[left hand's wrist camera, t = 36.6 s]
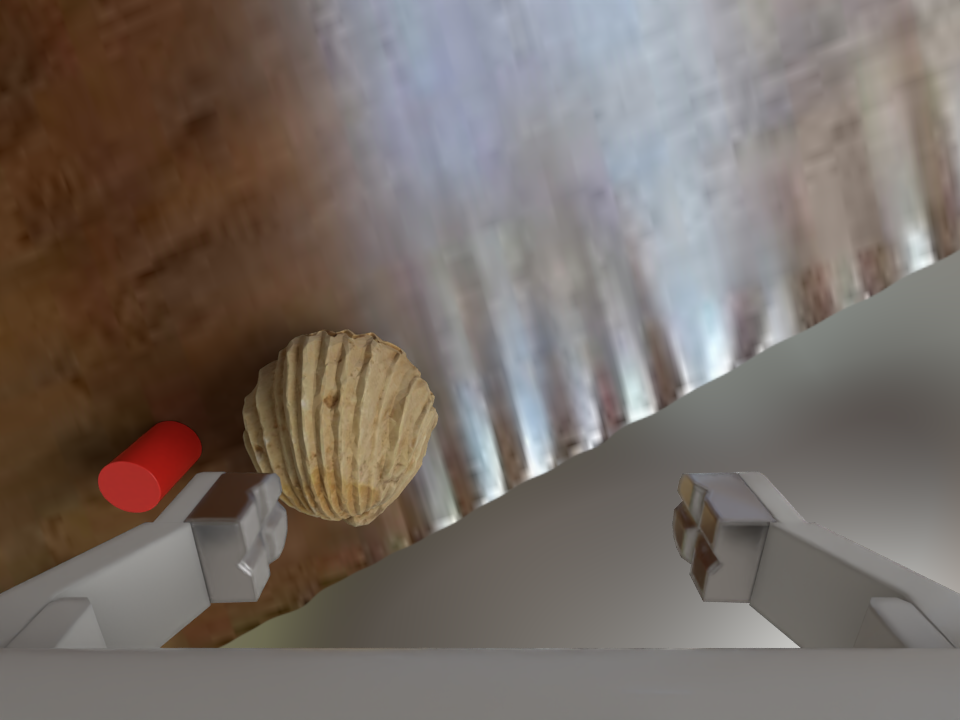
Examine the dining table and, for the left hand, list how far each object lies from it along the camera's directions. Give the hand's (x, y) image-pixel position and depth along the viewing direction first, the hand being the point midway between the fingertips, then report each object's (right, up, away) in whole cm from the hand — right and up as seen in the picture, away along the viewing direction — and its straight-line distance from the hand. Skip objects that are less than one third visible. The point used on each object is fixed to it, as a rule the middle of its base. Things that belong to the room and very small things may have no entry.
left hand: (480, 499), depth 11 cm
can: (-30, -5, +40) cm, 51 cm away
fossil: (-11, 0, +38) cm, 40 cm away
